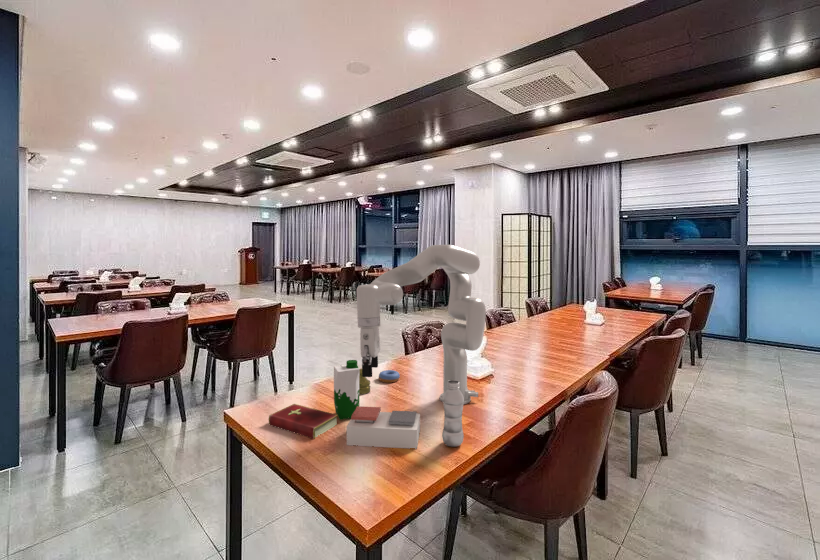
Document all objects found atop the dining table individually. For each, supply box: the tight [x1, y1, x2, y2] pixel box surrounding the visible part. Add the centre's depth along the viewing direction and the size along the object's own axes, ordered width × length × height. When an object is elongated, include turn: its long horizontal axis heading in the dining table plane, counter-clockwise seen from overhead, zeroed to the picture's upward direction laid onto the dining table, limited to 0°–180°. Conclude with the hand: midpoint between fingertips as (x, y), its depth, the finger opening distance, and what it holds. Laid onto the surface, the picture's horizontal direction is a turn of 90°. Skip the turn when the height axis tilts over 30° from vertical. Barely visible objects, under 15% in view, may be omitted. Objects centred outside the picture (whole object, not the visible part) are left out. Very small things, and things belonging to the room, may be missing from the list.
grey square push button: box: [389, 410, 418, 425], centre depth 124 cm, size 8×8×6 cm
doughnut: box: [378, 369, 401, 384], centre depth 182 cm, size 10×10×5 cm
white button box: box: [346, 411, 421, 450], centre depth 125 cm, size 22×12×6 cm, turn 84°
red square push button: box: [350, 405, 382, 423], centre depth 126 cm, size 8×8×6 cm
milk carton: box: [333, 359, 361, 421], centre depth 142 cm, size 9×9×20 cm
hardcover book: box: [268, 403, 338, 440], centre depth 135 cm, size 12×21×4 cm, turn 61°
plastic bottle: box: [441, 380, 465, 448], centre depth 120 cm, size 6×7×20 cm
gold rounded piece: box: [359, 367, 371, 395], centre depth 166 cm, size 7×7×10 cm
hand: (370, 371), depth 130 cm, fingers open, 9 cm apart
